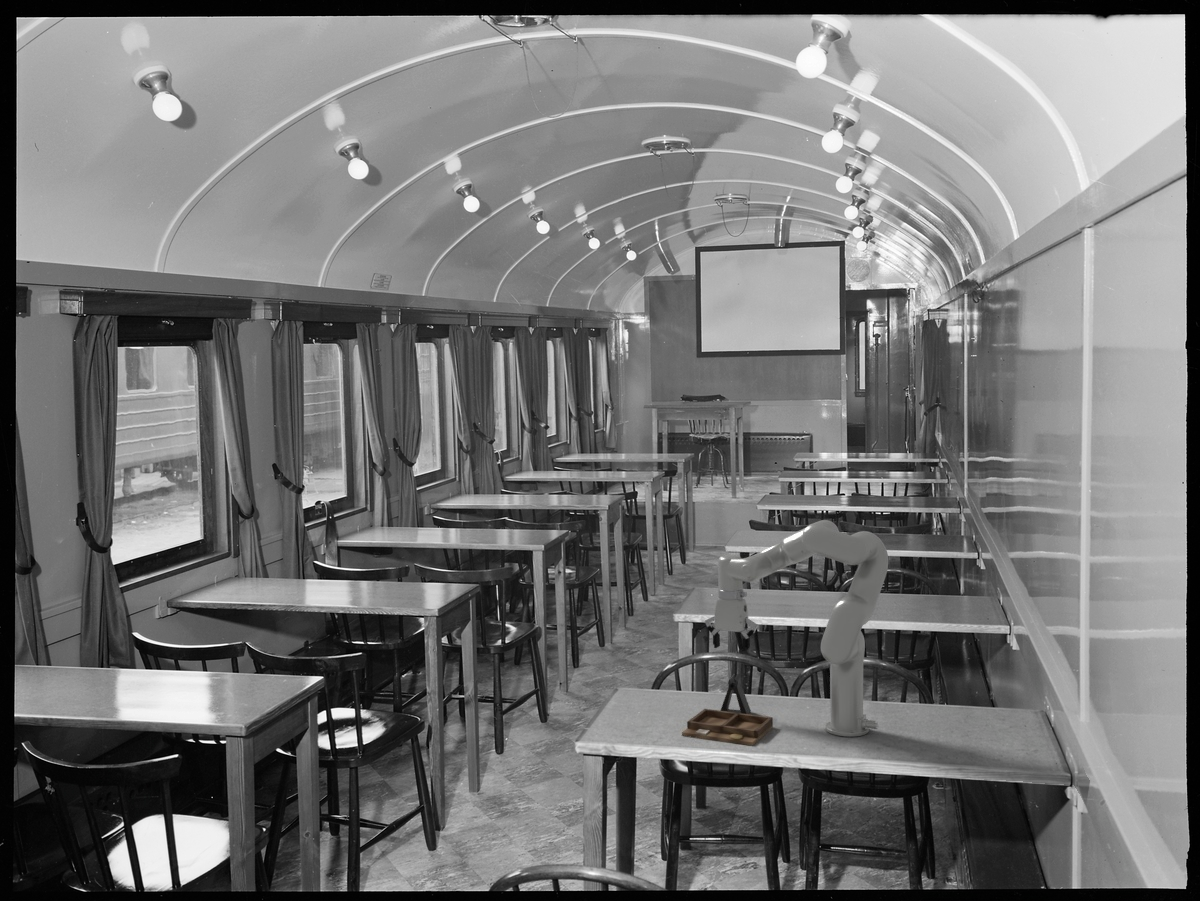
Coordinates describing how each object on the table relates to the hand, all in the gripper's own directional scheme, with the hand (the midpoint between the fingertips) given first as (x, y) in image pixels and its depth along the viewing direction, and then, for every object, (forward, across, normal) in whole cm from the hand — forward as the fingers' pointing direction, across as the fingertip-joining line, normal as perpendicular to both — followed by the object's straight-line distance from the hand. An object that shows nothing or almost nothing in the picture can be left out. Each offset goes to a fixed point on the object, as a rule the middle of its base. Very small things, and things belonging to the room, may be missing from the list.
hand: (731, 648), depth 335 cm
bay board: (+21, -5, +17) cm, 27 cm away
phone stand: (+21, -1, 0) cm, 21 cm away
